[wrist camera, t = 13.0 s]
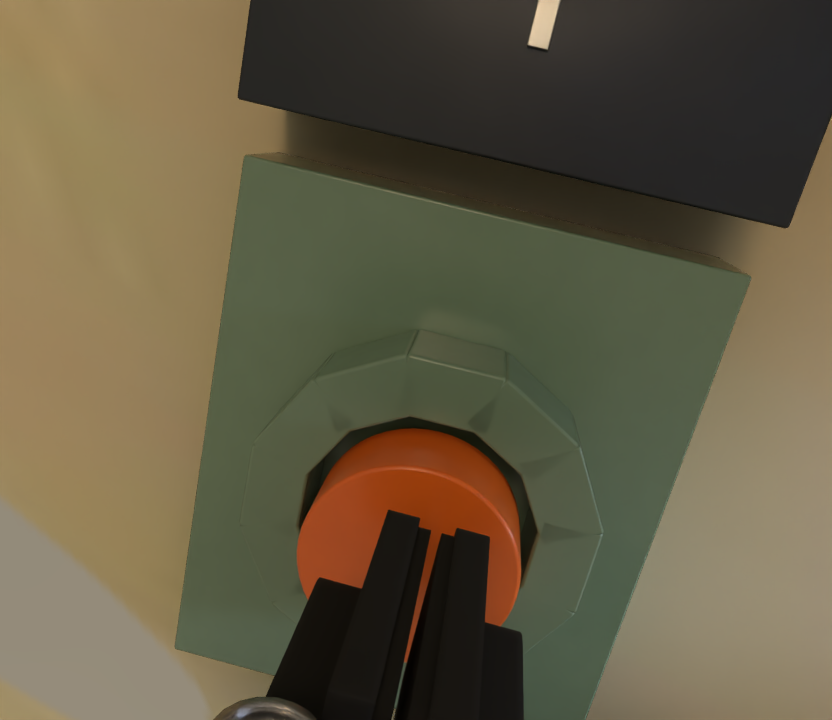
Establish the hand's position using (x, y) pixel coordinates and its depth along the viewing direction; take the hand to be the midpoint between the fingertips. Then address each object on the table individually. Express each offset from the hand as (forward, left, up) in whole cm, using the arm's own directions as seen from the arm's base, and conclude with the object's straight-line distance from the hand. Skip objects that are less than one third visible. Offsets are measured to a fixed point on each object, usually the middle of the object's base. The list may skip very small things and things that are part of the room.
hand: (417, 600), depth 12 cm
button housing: (0, 0, -7) cm, 7 cm away
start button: (0, 0, -3) cm, 3 cm away
